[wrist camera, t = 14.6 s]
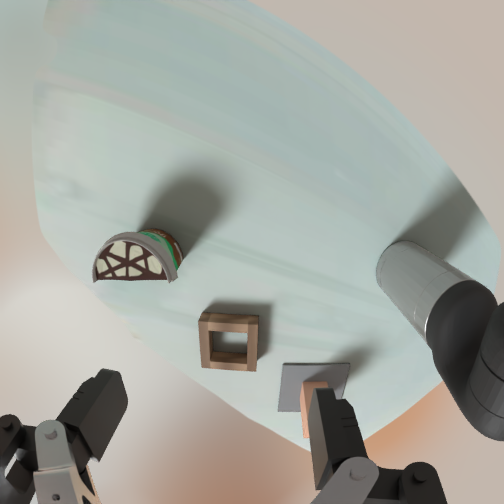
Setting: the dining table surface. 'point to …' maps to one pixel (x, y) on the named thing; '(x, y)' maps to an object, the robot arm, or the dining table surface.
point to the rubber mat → (309, 373)
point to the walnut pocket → (228, 324)
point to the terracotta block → (308, 402)
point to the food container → (138, 257)
